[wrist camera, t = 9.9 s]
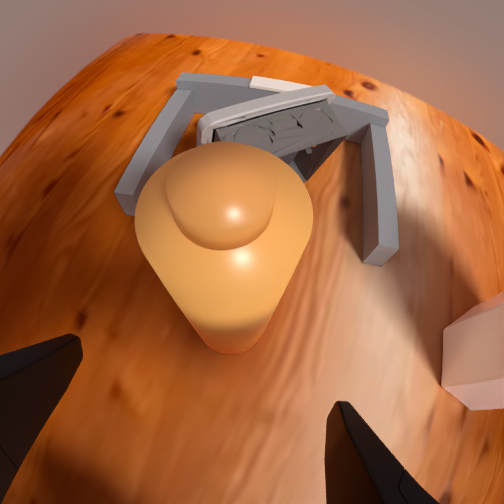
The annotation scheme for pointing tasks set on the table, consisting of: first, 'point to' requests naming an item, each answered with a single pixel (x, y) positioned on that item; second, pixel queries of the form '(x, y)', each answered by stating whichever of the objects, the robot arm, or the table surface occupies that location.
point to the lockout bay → (245, 89)
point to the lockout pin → (225, 237)
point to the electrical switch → (280, 127)
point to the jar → (476, 356)
